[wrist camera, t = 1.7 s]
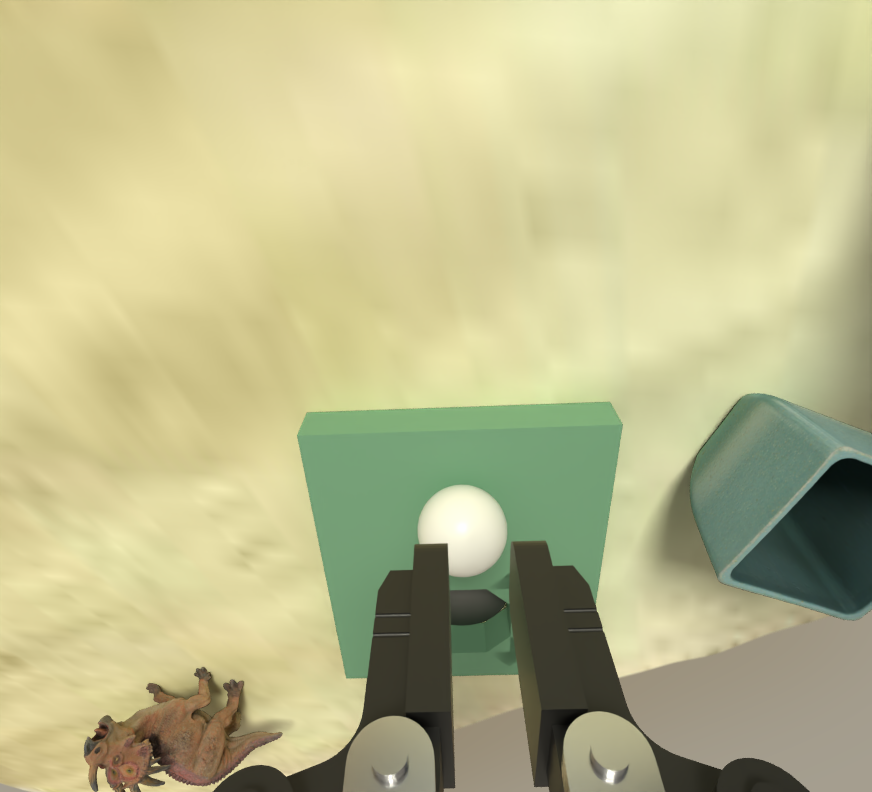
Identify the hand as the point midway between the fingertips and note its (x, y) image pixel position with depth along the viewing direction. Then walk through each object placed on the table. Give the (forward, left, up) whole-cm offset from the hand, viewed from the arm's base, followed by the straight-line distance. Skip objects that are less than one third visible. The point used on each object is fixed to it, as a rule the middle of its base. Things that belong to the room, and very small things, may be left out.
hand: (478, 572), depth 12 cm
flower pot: (-18, +10, -19) cm, 28 cm away
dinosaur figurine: (+22, +34, -19) cm, 45 cm away
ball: (0, +12, -14) cm, 18 cm away
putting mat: (0, +18, -19) cm, 26 cm away
